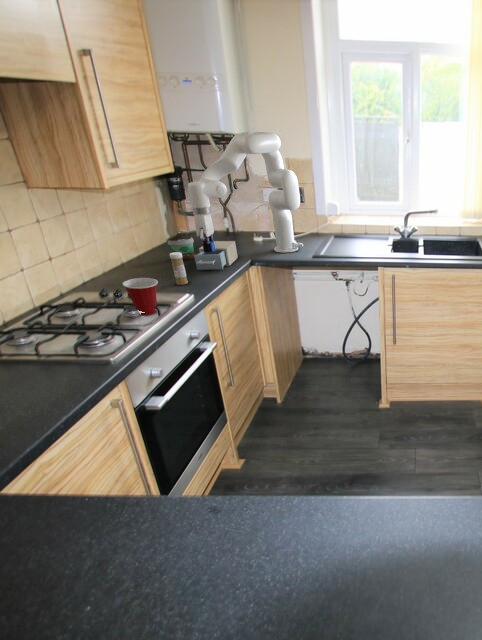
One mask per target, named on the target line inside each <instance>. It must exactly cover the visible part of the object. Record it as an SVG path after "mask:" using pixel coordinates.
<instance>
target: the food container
mask: <svg viewBox="0 0 482 640" xmlns="http://www.w3.org/2000/svg"><path fill="white" fill-rule="evenodd" d="M194 243H195V240H194V238H193V236H190V238H180V239H177V240H169V239H168V240H167V245H168V246H169V248H170V250H171V253H173V252H181V253H182V259H183V261H188V260H193V259H195V257H194V255H195V251H194V250H195V249H194Z"/></svg>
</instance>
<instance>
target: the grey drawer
mask: <svg viewBox="0 0 482 640" xmlns="http://www.w3.org/2000/svg"><path fill="white" fill-rule="evenodd" d="M194 261H195V266H196V270H197V271H199V270H224V267H225V266H224V265H225V264H226V263H227V257H226V252H225V250H214V251H213V252H204V250H203V251H201V252H200V251H199V253H197V254H194Z"/></svg>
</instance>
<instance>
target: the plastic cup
mask: <svg viewBox="0 0 482 640" xmlns="http://www.w3.org/2000/svg"><path fill="white" fill-rule="evenodd" d="M158 283H159V281H158V279H155V278H151V277H137V278H136V277H135V278H130V279H127V280H124V281H123V282H122V283H121V284H122V286H123V287H124V288H125V290H126V292H127V294H128V295H129V297H130V300H131V302H132V304H133V306H134V308H135V309H136V310H137V309H138V310H139V311H142V312H145V313H141V315H140V316H149V315H153V314H156V313H157V310H158V308H157V309H156V310H155V309H154V306H157V303H158V301H157V287H158V286H157V285H158Z"/></svg>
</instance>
